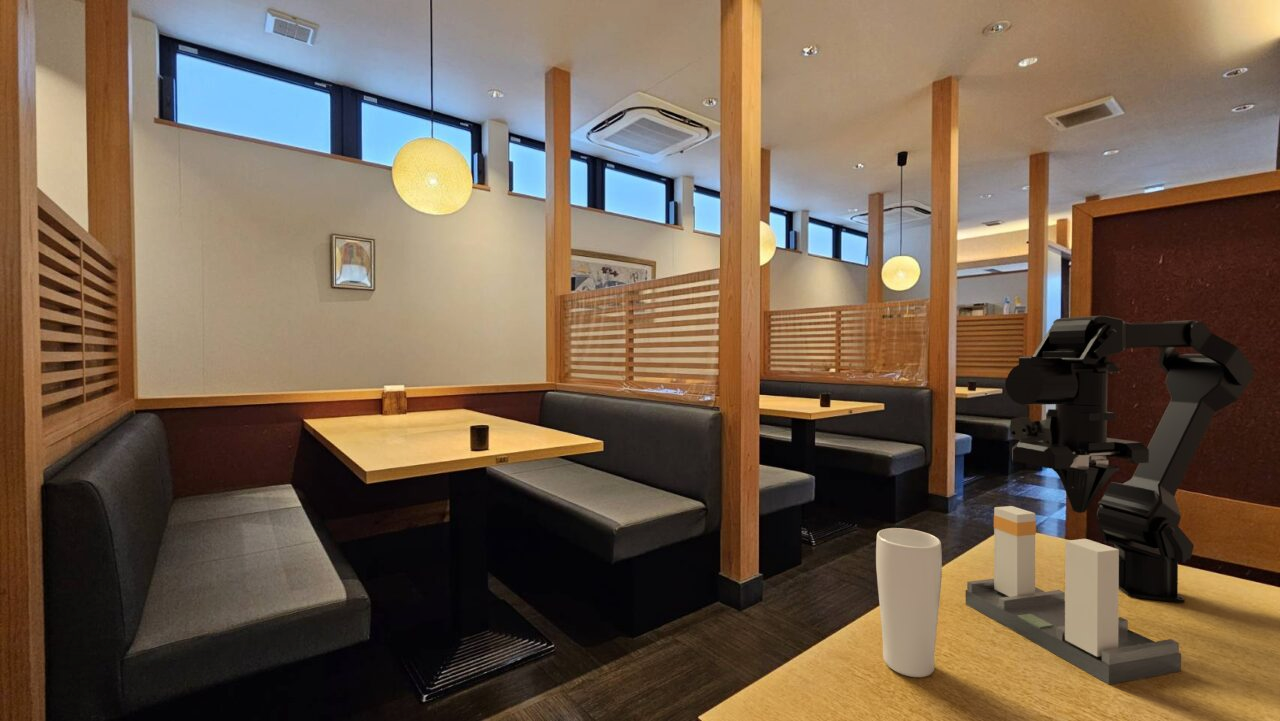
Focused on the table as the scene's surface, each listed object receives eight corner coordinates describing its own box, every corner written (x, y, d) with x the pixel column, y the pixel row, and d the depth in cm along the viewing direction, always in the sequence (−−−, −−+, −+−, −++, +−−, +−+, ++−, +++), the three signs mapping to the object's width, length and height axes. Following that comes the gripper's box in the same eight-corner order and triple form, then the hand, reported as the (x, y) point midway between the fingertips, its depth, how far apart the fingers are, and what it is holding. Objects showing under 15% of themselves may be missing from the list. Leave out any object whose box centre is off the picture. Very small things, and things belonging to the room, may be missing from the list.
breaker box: (1024, 595, 79) (1024, 574, 79) (1181, 671, 61) (1181, 642, 61) (965, 603, 77) (965, 581, 77) (1108, 684, 58) (1108, 655, 58)
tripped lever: (1011, 586, 77) (1011, 505, 77) (1035, 598, 74) (1035, 513, 73) (993, 588, 77) (993, 507, 76) (1017, 600, 73) (1017, 515, 73)
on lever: (1085, 636, 64) (1085, 538, 64) (1118, 653, 60) (1118, 549, 60) (1064, 639, 63) (1065, 540, 63) (1097, 656, 60) (1097, 552, 59)
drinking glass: (951, 687, 58) (951, 549, 58) (884, 680, 59) (883, 545, 59) (930, 652, 65) (930, 529, 64) (870, 647, 66) (870, 526, 66)
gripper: (1071, 398, 87) (1069, 493, 88) (979, 400, 82) (978, 501, 83) (1152, 404, 77) (1150, 513, 77) (1052, 407, 72) (1050, 523, 72)
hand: (1078, 512), depth 77 cm, fingers closed
